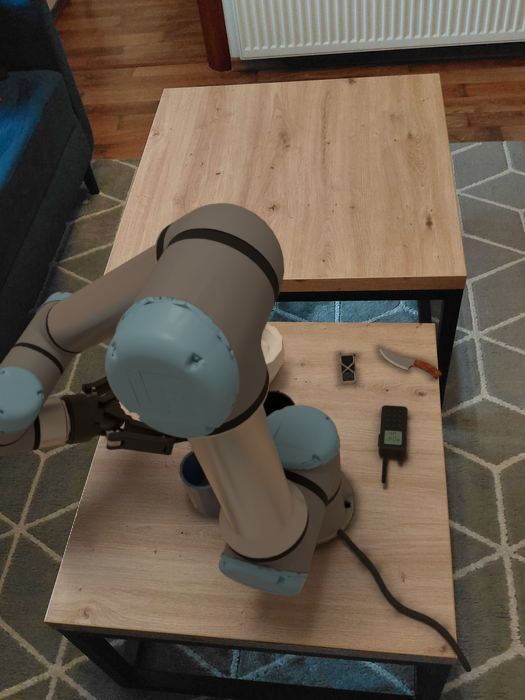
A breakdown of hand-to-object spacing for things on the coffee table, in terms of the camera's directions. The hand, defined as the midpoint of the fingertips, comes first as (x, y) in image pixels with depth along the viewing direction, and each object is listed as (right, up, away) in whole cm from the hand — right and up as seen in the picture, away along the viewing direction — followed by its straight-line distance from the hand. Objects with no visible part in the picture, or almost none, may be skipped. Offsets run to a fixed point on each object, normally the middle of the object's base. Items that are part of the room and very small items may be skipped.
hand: (188, 402), depth 110 cm
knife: (+40, +5, +15) cm, 43 cm away
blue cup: (+4, -16, +3) cm, 17 cm away
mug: (+15, -7, +10) cm, 19 cm away
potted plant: (+12, +4, +19) cm, 23 cm away
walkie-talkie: (+36, -2, +8) cm, 37 cm away
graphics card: (+28, +5, +17) cm, 33 cm away
